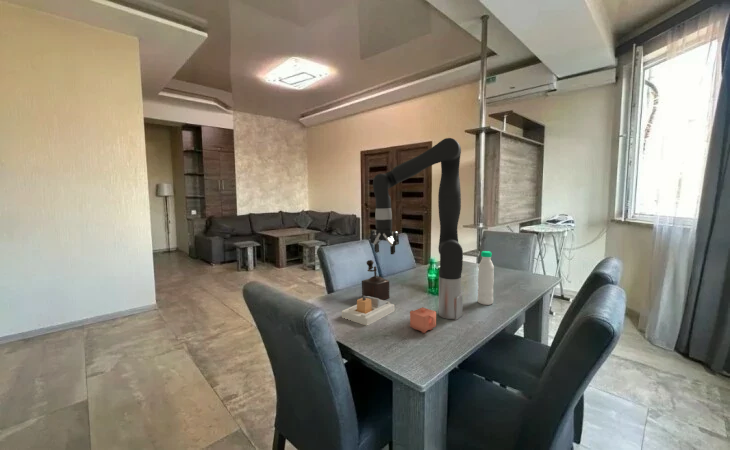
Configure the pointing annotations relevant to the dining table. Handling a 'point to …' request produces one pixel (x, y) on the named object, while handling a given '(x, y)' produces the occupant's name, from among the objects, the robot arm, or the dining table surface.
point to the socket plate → (370, 316)
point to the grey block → (376, 302)
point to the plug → (364, 305)
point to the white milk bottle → (485, 279)
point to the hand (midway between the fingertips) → (384, 253)
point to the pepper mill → (375, 285)
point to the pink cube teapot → (423, 319)
